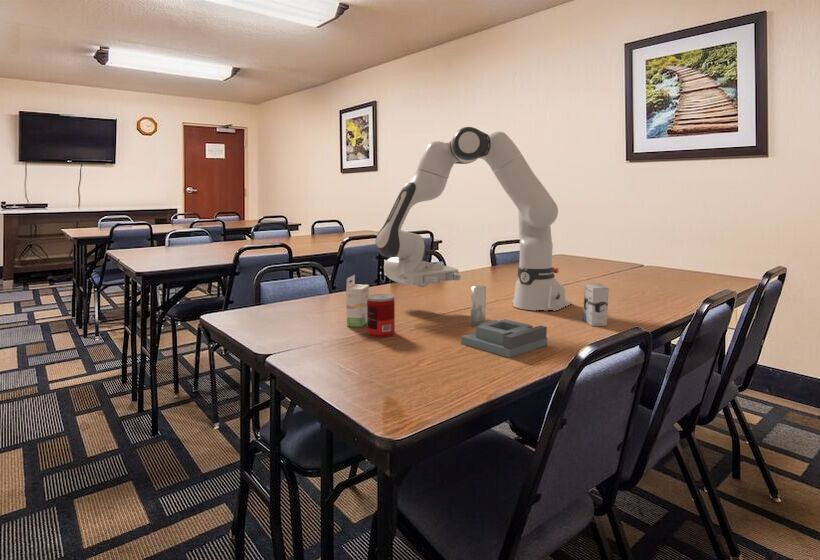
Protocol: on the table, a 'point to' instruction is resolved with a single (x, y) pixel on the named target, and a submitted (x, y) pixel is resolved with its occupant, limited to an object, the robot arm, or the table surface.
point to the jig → (506, 337)
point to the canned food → (381, 315)
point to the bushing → (478, 305)
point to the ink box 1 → (356, 303)
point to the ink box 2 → (595, 304)
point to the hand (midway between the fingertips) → (448, 279)
